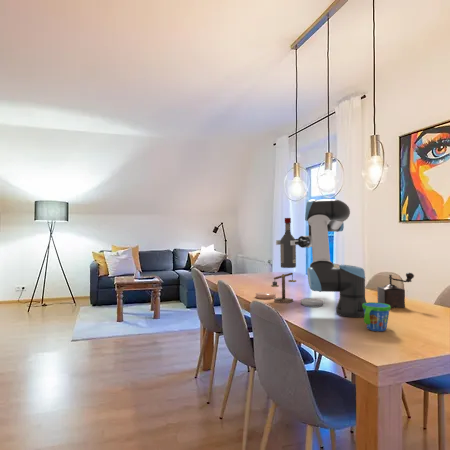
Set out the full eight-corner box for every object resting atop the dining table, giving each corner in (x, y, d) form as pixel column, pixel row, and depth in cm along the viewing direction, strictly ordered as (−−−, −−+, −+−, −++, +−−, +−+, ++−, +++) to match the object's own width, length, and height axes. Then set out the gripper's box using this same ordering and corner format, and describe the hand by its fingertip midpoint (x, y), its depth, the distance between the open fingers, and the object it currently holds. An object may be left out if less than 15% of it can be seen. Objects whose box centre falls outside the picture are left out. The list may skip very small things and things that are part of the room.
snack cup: (376, 323, 155) (376, 300, 155) (399, 329, 147) (399, 304, 147) (353, 329, 147) (353, 304, 147) (376, 336, 138) (376, 309, 138)
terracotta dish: (278, 296, 219) (278, 293, 219) (270, 299, 209) (270, 296, 209) (261, 294, 225) (261, 291, 225) (252, 297, 215) (252, 294, 215)
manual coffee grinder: (385, 308, 184) (385, 273, 185) (376, 303, 196) (376, 270, 196) (416, 308, 184) (415, 273, 185) (405, 303, 195) (404, 270, 196)
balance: (298, 301, 202) (298, 272, 202) (294, 303, 197) (293, 273, 197) (273, 299, 211) (273, 270, 211) (269, 300, 206) (268, 271, 206)
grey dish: (326, 303, 197) (326, 299, 197) (319, 307, 187) (319, 303, 187) (305, 301, 204) (305, 297, 204) (297, 305, 194) (297, 301, 194)
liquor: (280, 267, 215) (280, 217, 215) (280, 266, 224) (280, 218, 224) (296, 268, 213) (295, 217, 214) (295, 266, 222) (295, 218, 223)
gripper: (321, 248, 222) (299, 249, 207) (291, 246, 239) (269, 248, 224) (320, 235, 222) (299, 236, 207) (291, 235, 239) (269, 236, 224)
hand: (283, 242), depth 216 cm, fingers closed on liquor, 10 cm apart
